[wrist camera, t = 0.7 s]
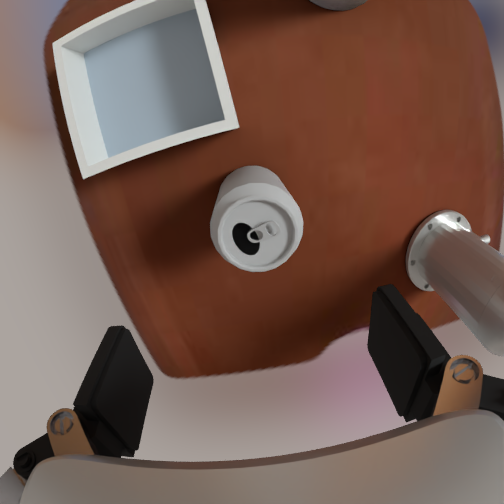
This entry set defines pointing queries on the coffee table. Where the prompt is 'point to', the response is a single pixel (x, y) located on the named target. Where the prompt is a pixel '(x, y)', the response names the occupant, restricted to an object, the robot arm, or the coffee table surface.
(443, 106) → the coffee table surface
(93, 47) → the walled box
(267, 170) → the can
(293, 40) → the coffee table surface
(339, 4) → the pillar candle
